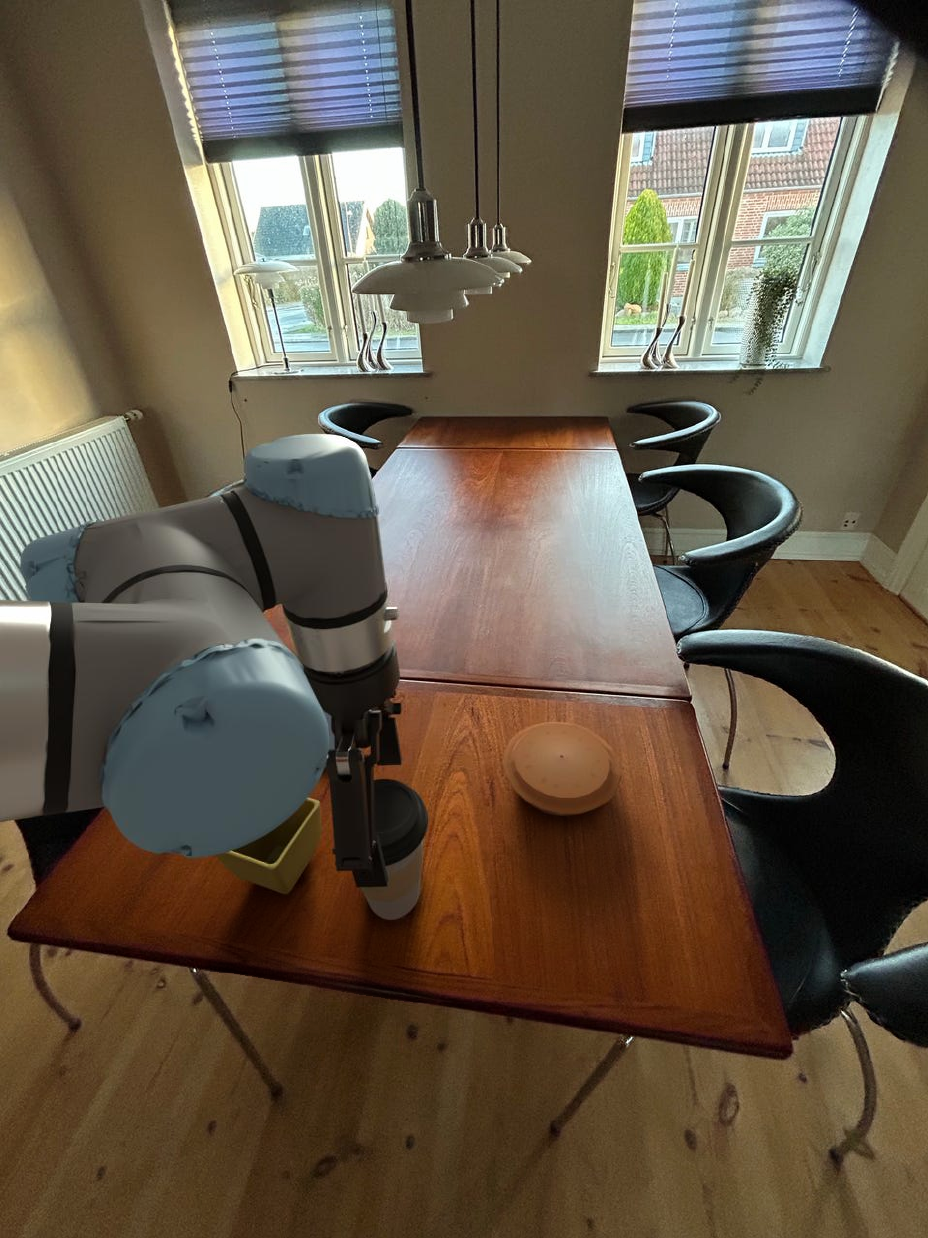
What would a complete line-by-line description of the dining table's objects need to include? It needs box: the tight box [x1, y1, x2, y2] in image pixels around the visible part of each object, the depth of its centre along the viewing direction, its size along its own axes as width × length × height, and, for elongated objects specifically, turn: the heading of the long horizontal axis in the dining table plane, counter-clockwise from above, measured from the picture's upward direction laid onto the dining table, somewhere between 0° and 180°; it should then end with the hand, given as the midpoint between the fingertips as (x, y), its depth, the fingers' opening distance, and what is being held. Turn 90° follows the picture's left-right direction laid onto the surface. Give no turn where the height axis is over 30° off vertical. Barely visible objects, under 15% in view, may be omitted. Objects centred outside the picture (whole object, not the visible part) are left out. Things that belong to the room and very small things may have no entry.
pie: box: [501, 721, 623, 817], centre depth 71 cm, size 16×16×5 cm
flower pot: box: [215, 797, 323, 895], centre depth 61 cm, size 9×9×9 cm
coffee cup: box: [332, 778, 429, 921], centre depth 56 cm, size 9×9×15 cm
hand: (381, 816), depth 53 cm, fingers open, 13 cm apart
